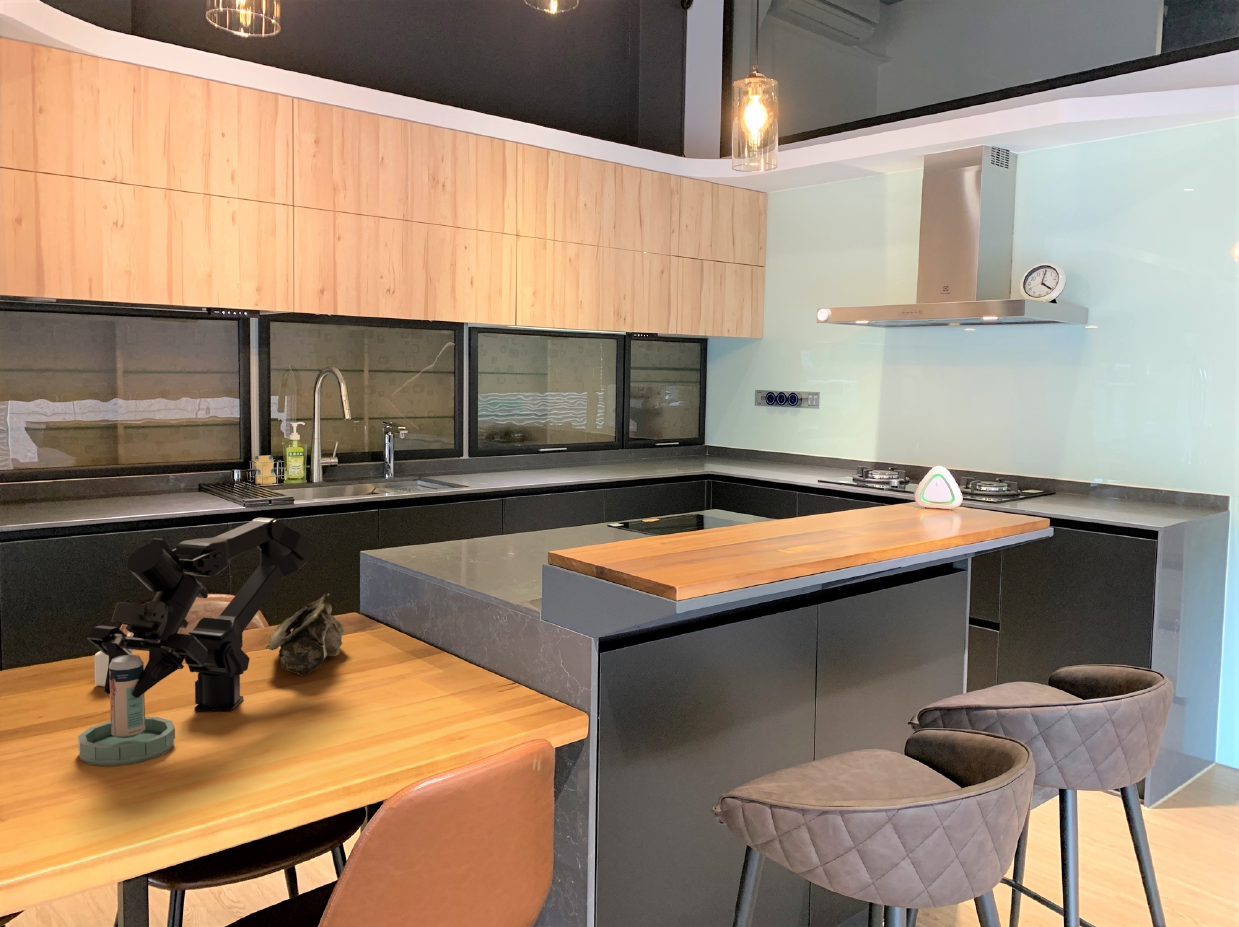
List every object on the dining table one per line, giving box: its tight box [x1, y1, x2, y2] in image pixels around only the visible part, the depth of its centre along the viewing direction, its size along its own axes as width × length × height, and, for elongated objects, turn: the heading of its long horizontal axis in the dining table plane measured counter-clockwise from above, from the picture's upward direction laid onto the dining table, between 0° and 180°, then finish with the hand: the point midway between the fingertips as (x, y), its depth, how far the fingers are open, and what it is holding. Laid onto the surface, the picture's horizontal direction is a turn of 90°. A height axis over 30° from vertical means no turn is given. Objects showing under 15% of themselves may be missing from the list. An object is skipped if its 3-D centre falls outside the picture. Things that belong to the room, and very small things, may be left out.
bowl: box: [77, 716, 176, 767], centre depth 145 cm, size 13×13×3 cm
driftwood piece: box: [265, 592, 345, 676], centre depth 192 cm, size 28×13×15 cm
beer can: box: [109, 654, 146, 738], centre depth 145 cm, size 5×5×12 cm
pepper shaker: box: [94, 650, 109, 687], centre depth 175 cm, size 4×4×10 cm
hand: (120, 694), depth 143 cm, fingers closed on beer can, 5 cm apart
